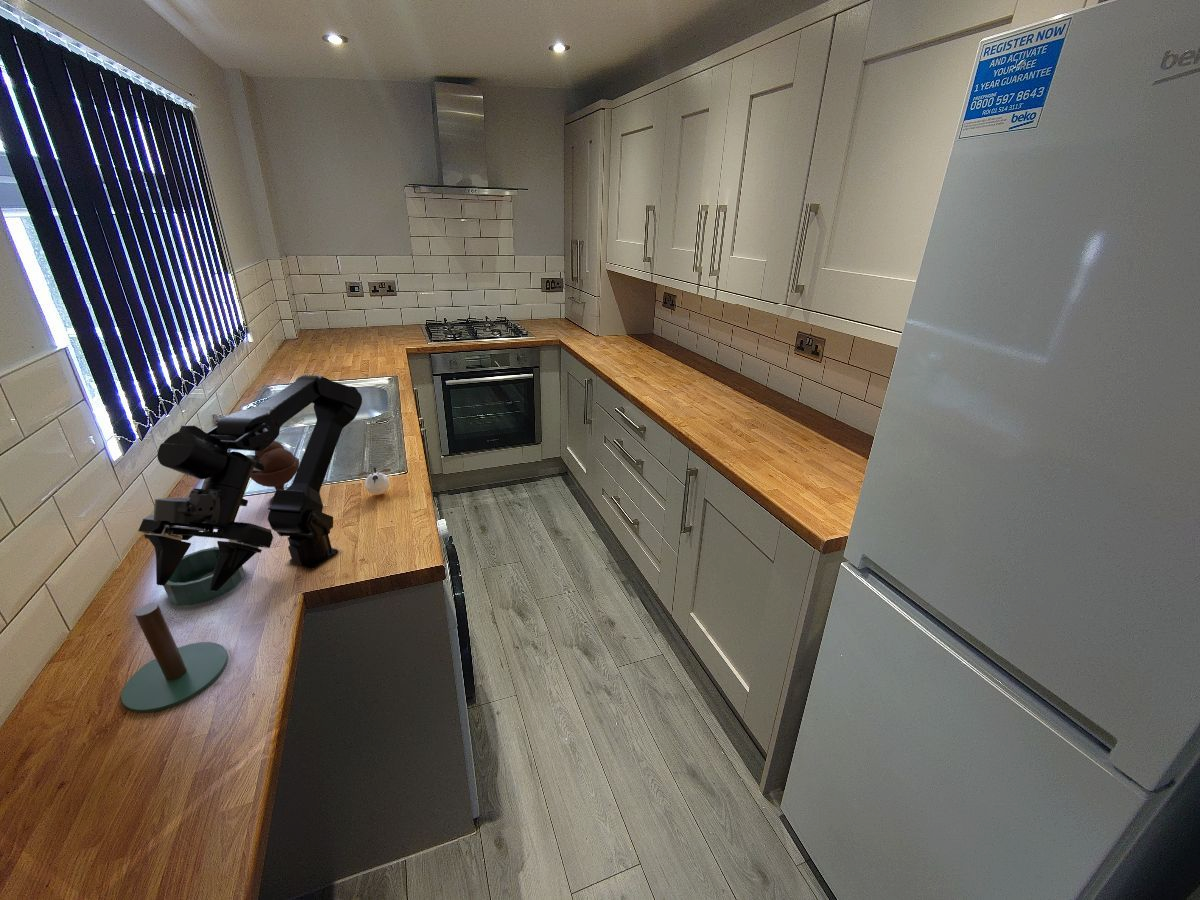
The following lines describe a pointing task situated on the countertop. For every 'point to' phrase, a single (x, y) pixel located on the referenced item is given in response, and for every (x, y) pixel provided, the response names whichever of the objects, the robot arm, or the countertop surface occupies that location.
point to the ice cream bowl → (275, 467)
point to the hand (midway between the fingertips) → (186, 588)
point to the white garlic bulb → (376, 482)
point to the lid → (170, 667)
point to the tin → (191, 568)
